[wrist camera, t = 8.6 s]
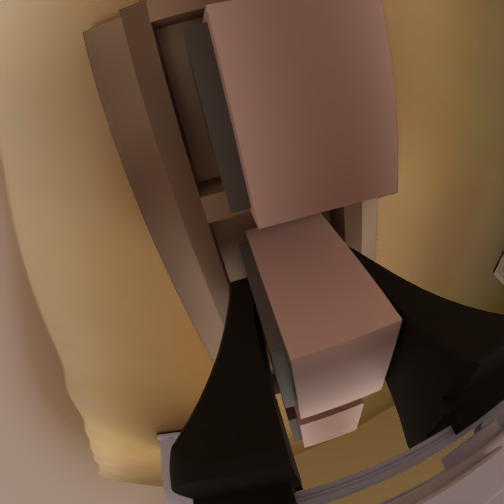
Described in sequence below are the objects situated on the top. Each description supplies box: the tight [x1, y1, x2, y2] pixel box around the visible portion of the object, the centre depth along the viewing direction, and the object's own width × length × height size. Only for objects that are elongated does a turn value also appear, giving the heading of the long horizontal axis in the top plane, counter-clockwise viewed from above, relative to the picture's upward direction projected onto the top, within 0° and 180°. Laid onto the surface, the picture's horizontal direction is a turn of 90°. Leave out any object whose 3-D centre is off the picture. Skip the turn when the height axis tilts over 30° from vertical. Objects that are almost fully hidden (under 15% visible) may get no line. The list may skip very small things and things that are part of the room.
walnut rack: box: [83, 0, 398, 447], centre depth 11 cm, size 10×22×7 cm, turn 12°
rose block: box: [239, 213, 402, 419], centre depth 10 cm, size 3×4×6 cm
